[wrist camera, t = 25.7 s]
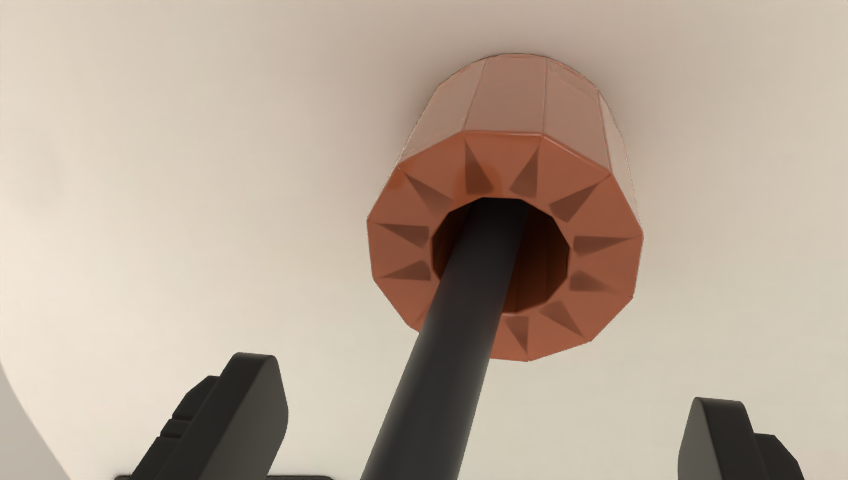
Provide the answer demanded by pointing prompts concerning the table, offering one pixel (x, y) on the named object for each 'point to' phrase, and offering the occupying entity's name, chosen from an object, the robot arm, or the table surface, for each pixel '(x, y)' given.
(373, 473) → the stylus
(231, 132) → the table surface
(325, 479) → the smartphone
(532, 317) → the pen pot
